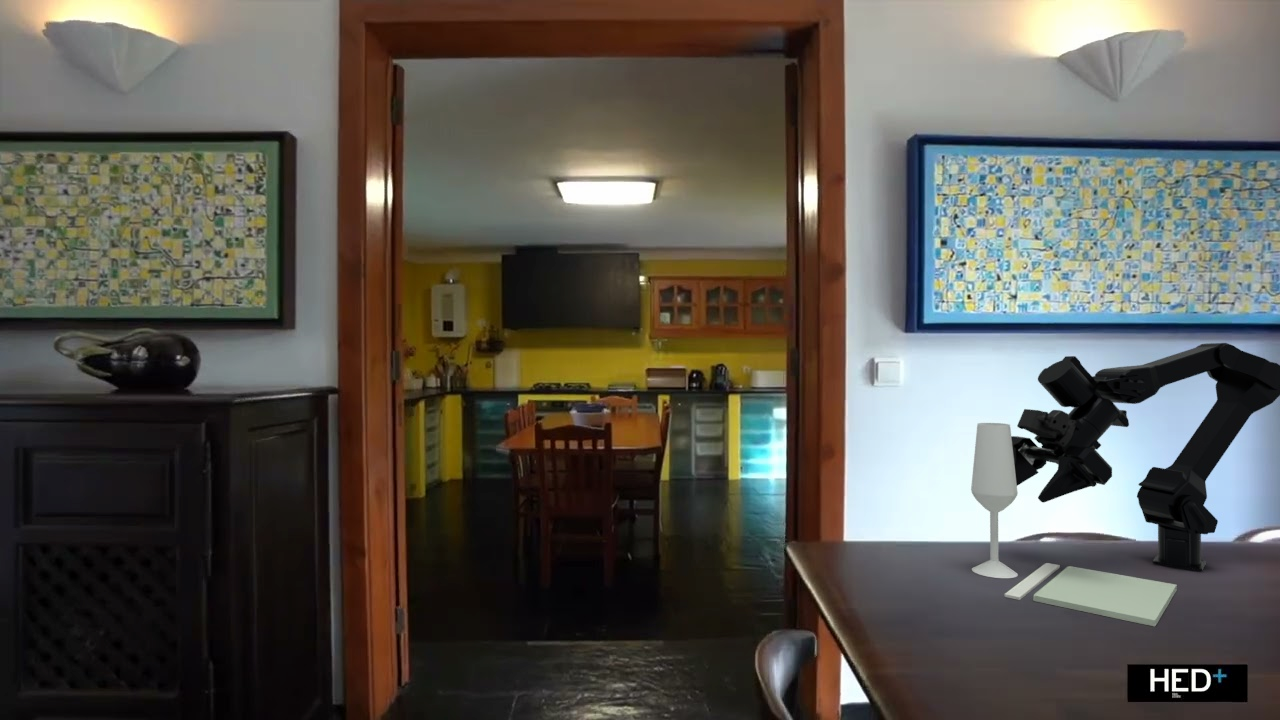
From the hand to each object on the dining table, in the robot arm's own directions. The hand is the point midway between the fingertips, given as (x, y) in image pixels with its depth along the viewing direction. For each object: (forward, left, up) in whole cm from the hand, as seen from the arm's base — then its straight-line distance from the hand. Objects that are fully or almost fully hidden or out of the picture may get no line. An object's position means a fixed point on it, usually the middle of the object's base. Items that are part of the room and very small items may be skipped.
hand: (1020, 494), depth 113 cm
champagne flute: (+4, -3, -13) cm, 13 cm away
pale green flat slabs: (+5, +11, -12) cm, 17 cm away
